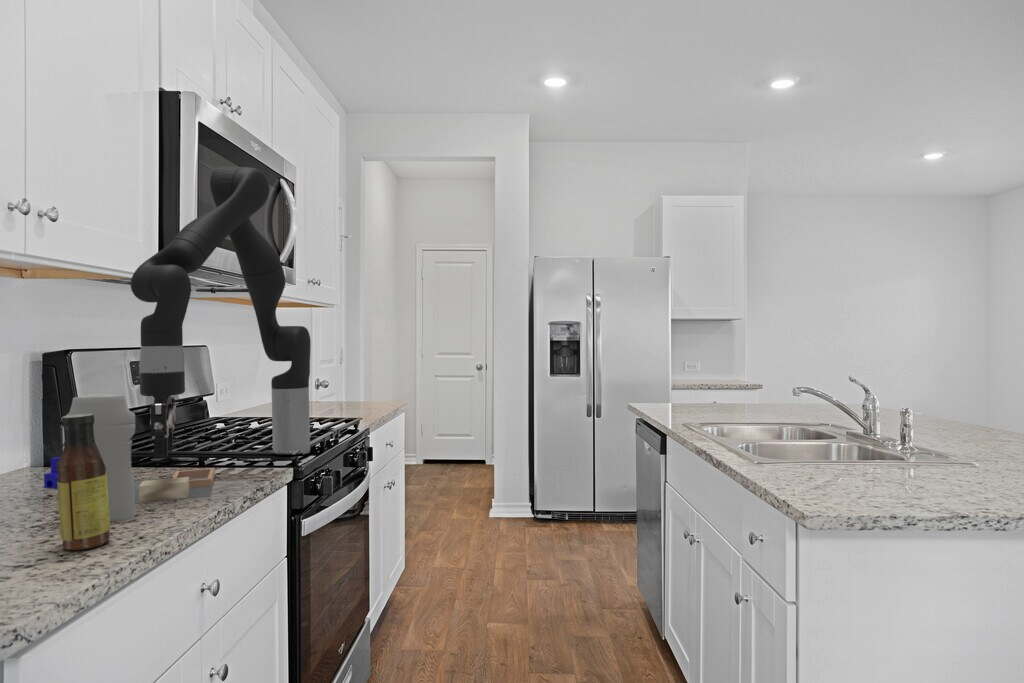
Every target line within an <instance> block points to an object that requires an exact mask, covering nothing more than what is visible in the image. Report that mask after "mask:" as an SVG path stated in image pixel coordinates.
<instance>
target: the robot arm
mask: <svg viewBox="0 0 1024 683" xmlns="http://www.w3.org/2000/svg"><path fill="white" fill-rule="evenodd" d="M211 172H212V173H211V175H210V179H209V180H210V181H209V185H210V193H211V196H212V199H213V202H214V204H215V206H216V207H215V208H212V209H211V210H210V211H209V210H208V212H206V213H204V214H202V215H200V216H198V217H196V218H195V219H193V220H191V221H190V222H189V223H187V224H186V225H185V226H184V227H183V228H182V229H181V230H180V231H179V232H178V233H177V234H176V235H175V236H174V238H173V239H172V240H171V241H170V242H169V244H168V245H167V246H165V247H164V248H163V249H161V250H158V251H157V252H156V253H155V254H153V255H152V256H151V257H150V258H148V259H146V260H145V261H144V262H143V263H141V264H140V265H138V267H137V268H136V269H135V271H134V273H133V274H132V276H131V280H130V290H131V292H132V294H133V295H134V296H135V298H137V299H138V300H139V301H141V302H144V303H156V305H155V309H154V310H153V311H154V312H153V313H151V314H149V315H146V316H144V317H143V318H141V322H140V353H139V394H140V395H141V396H142V397H153V403H150V406H149V412H150V413H149V414H150V420H149V424H150V431H149V432H150V433H149V434H150V436H151V438H152V440H153V458H154V460H155V459H156V460H162V459H163V460H164V459H167V458H168V456H169V452H171V451H173V449H174V432H175V431H174V430H175V426H176V417H177V416H176V410H177V409H176V408H177V404H176V403H175V402H176V400H175V397H174V396H177V395H182V394H184V393H185V391H186V377H185V376H186V374H185V373H186V372H185V371H186V370H185V368H186V367H185V364H186V363H185V352H184V346H183V340H184V339H183V337H184V336H183V324H184V320H185V317H186V314H187V310H188V306H189V302H190V298H191V294H192V283H191V279H190V276H189V275H188V274H192V273H194V272H196V271H198V270H199V269H200V268H201V267H202V266H203V265H204V264H205V262H206V261H207V260H208V258H210V256H211V255H212V253H213V252H214V251H215V250H216V249H217V247H218V246H219V245H220V244H221V243H222V242H223V241H224V240H225V239H226V238H227V237H228V236H229V238H230V241H231V244H232V246H233V249H234V253H235V254H236V257H237V260H238V263H239V268H240V270H241V274H242V277H243V280H244V283H245V286H246V288H247V291H248V294H249V297H250V300H251V303H252V308H253V310H254V313H255V317H256V321H257V325H258V329H259V333H260V339H261V342H262V347H263V350H264V353H265V355H266V357H267V358H268V360H271V361H273V362H291V363H290V368H289V369H288V370H286V371H285V372H283V373H281V374H278V375H275V376H273V377H272V378H271V380H270V381H271V387H270V388H271V416H272V417H271V418H272V419H271V420H272V421H271V422H272V423H271V424H272V428H271V429H272V432H271V433H272V452H273V451H280V452H290V451H297V450H298V451H301V452H302V453H303V454H302V455H305V454H309V453H310V452H311V437H310V436H311V433H310V432H311V429H310V427H311V426H310V425H311V424H310V420H311V419H310V375H311V349H312V348H311V345H312V344H311V343H312V341H311V335H310V332H309V330H308V328H307V327H305V326H303V325H282V326H281V325H279V323H278V320H277V314H276V312H277V307H278V305H279V301H280V300H281V297H282V295H283V293H284V290H285V288H286V287H285V286H286V282H287V281H286V276H285V271H284V267H283V265H282V260H281V259H280V256H279V253H278V252H277V251H276V249H275V248H274V247H273V246H272V245H271V243H270V242H269V241H268V240H267V239H266V238H265V237H264V235H262V233H260V232H259V230H258V229H257V227H255V225H254V224H253V222H252V220H251V218H250V217H252V216H253V215H254V214H255V213H257V212H258V211H259V210H261V209H262V208H263V206H264V205H265V204H266V203H267V201H268V199H269V196H270V184H269V183H270V182H269V179H268V177H267V176H266V174H265V173H264V172H263V171H262V170H261V169H258V168H254V167H249V166H243V167H242V166H219V167H216V168H214V170H213V171H211ZM172 396H173V397H172Z"/></svg>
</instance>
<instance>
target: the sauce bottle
mask: <svg viewBox="0 0 1024 683" xmlns="http://www.w3.org/2000/svg"><path fill="white" fill-rule="evenodd" d="M94 422H95V420H94V415H93V414H75V415H68V416H66V415H64V416H62V417H61V425H62V426H63V427H64V438H65V441H64V444H65V447H64V450H63V449H62V453H61V455H60V456H59V457H60V458H59V460H58V462H57V474H58V481H57V487H58V489H57V498H58V499H57V500H58V501H57V502H58V514H59V516H58V517H59V526H60V527H59V528H60V540H62V547H63V549H64V550H67V551H74V552H75V551H76V552H77V551H83V550H90V549H94V548H97V547H100V546H102V545H105V544H107V543H108V542H109V541H110V535H111V534H110V530H111V522H110V514H109V500H108V486H107V472H106V466H105V464H104V462H103V460H102V457H101V455H100V452H99V450H98V447H97V445H96V443H95V438H94V427H93V424H94ZM62 426H61V427H62Z"/></svg>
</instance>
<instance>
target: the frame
mask: <svg viewBox="0 0 1024 683" xmlns="http://www.w3.org/2000/svg"><path fill="white" fill-rule="evenodd" d="M215 471H216V470H215V467H209V468H207V467H206V468H197V469H196V468H195V469H186V470H185V469H184V470H175V472H174V474H173V476H172V477H171V478H182V477H189V478H191V477H202V476H208V478H206V479H195V480H189V488H197V487H208V486H212V483H213V479H214V476H215V474H216V473H215ZM215 477H216V476H215Z"/></svg>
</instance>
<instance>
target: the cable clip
mask: <svg viewBox="0 0 1024 683" xmlns="http://www.w3.org/2000/svg"><path fill="white" fill-rule="evenodd" d="M59 458H60V456H55V457H52V458H50V472H48V473H44V474H43V476H44V477H43V478H44V479H43V480H44V483H43V485H44V489H55V490H58V487H57V481H58V474H57V462H58V460H59Z"/></svg>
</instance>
